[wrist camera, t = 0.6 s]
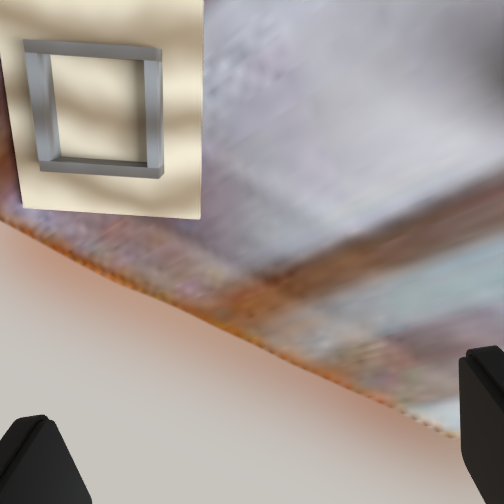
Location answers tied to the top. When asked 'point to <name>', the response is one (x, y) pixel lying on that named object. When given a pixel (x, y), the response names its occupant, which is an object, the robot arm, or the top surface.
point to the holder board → (106, 104)
